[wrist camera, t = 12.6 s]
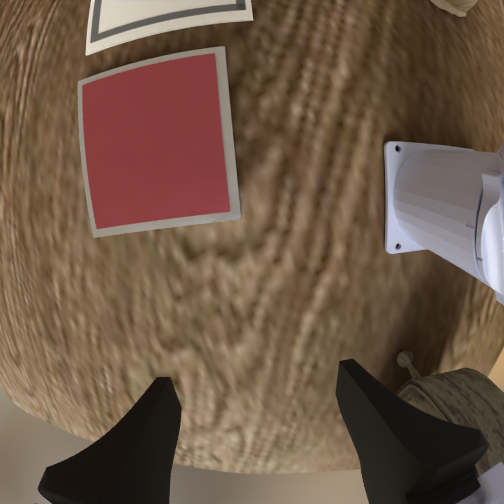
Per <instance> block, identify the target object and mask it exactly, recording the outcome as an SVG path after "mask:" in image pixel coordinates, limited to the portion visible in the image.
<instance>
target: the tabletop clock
mask: <svg viewBox="0 0 504 504" xmlns="http://www.w3.org/2000/svg"><path fill="white" fill-rule="evenodd" d="M412 362H413V354H412V353H411V352H410V351H408V350H404V351H402V352H400V353H399V354H398V356H397V363H398V364H399V365H400V366H401V367H404V368H405V367H407V368H408V370H409V372H410V374H411V376H412V378H413V379H409V380H408V381H407V382H406V383H405V384H404V385H402V386H401V387H400V389H399V390H398V391H397V392H396V394H395V395H397V396H398V397H400V398H401V399H403V400H404V401H406V402H407V403H409V404H411V405H412V406H414V407H416V408H418V409H420V410H422V411H424V412H426V413H428V414H430V415H432V416H435V417H437V418H439V419H442V420H445V421H448V422H451V423H454V424H457V425H461V426H466V427H470V428H475V429H479V430H480V431H481V432H482V434H483V435H484V437H485V438H486V440H487V441H488V443H489V447H488V450H487V451H486V453H485V454H484V455H483V456H482V458H481V459H480V460H479V461H478V462H477V463H476V464H475V468H476V469H477V473H476V474H474V475H475V476H476V478H478V477H480V476H481V475H482V474H484V473H485V472H486V471H488V470H489V469H491V468H492V467H494V466H495V465H496V464H498V463H499V462H502V463H503V465H504V393H503V392H502V391H501V390H500V389H499V388H498V387H497V386H496V385H495V384H494V383H493V382H492V381H491V380H490V379H489V378H487V377H486V376H484V375H483V374H481V373H480V372H478V371H476V370H473V369H470V368H463V369H459V370H454V371H450V372H445V373H441V374H436V375H431V376H425V377H422V376H421V375H420V374H419V373H418V371H417V370H416V369H415V368H414V366H413V365H412ZM361 473H362V478H363V483H364V487H365V490H366V494H367V498H368V493H367V488H366V484H365V480H364V475H363V471H362V467H361ZM368 501H369V499H368Z"/></svg>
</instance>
